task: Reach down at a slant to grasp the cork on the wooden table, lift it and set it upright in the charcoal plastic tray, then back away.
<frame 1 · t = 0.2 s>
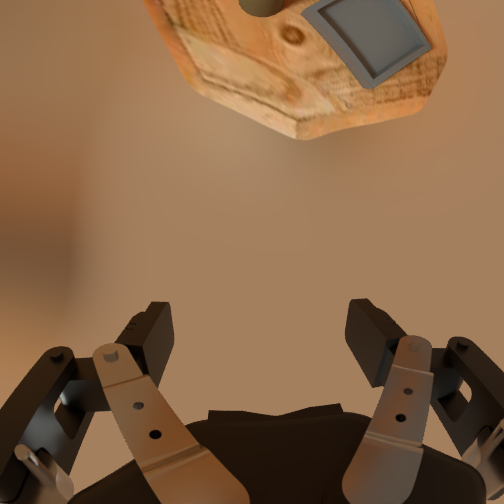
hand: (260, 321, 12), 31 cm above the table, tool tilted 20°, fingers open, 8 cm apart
tray: (367, 28, 26), on the table
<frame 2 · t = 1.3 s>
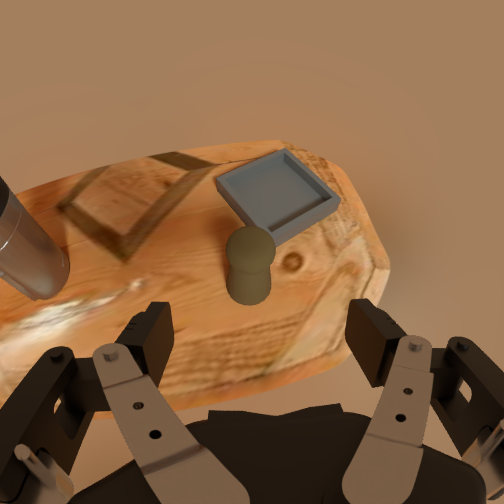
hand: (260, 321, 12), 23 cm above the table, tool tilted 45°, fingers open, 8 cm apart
cork: (248, 284, 37), on the table
tray: (277, 199, 44), on the table
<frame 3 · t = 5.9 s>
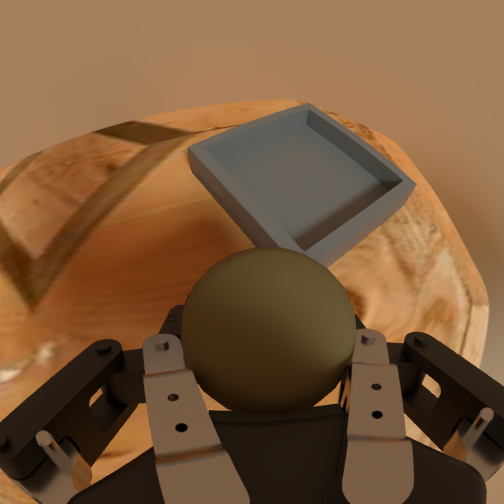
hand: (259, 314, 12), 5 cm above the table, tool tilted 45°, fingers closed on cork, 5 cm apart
cork: (256, 366, 16), on the table, touching gripper
tray: (302, 185, 23), on the table
when the fingers open (7 cm above the table, at t = 11.0 s): cork drops 1 cm, resting on tray.
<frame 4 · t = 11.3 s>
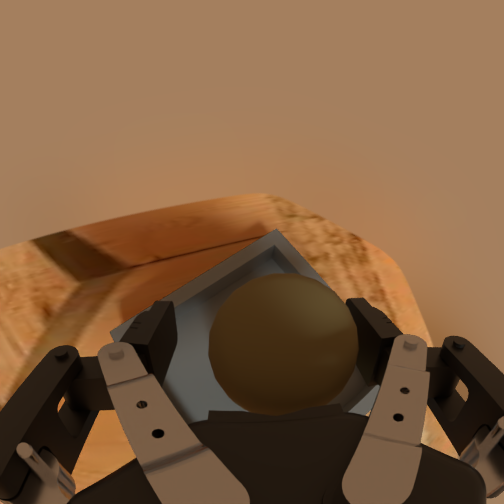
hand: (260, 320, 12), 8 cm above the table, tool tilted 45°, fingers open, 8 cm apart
cork: (264, 371, 17), point 1 cm above the table, touching tray
tray: (255, 369, 18), on the table
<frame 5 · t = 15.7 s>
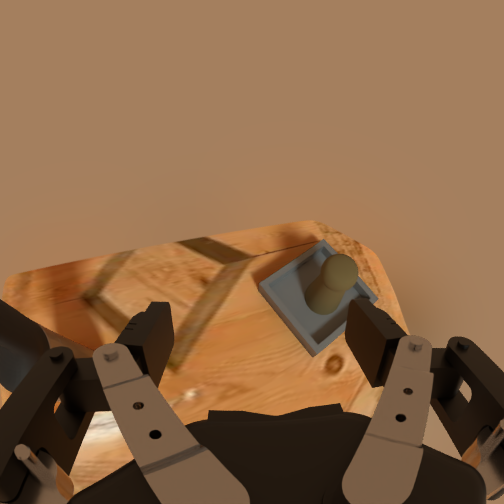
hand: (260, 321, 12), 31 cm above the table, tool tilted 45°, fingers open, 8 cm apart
cork: (322, 297, 44), point 1 cm above the table, touching tray
tray: (317, 298, 45), on the table
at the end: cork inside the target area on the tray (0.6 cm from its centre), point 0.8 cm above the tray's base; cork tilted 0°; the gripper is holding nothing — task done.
